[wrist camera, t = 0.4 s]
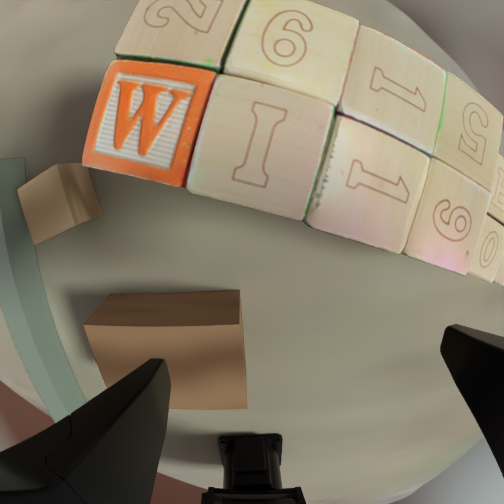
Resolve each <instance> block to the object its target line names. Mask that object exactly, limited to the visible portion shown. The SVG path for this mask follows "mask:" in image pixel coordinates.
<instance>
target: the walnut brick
mask: <svg viewBox="0 0 504 504" xmlns="http://www.w3.org/2000/svg"><path fill="white" fill-rule="evenodd" d="M83 326H84V329H85V332H86V335H87V338H88V341H89V343H90V346H91V349H92V352H93V355H94V357H95V360H96V362H97V365H98V368H99V370H100V373H101V375H102V377H103V380H104V382H105V385H106V387H107V388H109V387H110V386H112V385H113V384H115V383H116V382H118V381H119V380H120V379H122V378H123V377H125V376H126V375H128V374H129V373H130V372H132V371H133V370H135V369H136V368H138V367H139V366H140V365H142V364H143V363H145V362H146V361H148V360H149V359H151V358H163V359H164V360H165V361H166V363H167V367H168V371H169V375H170V379H171V393H170V402H169V409H201V410H216V409H247V385H246V362H245V350H244V337H243V325H242V312H241V299H240V290H229V291H210V292H188V293H160V294H119V295H110V296H109V297H108V298H107V299H106V300H105V301H104V302H103V303H102V304H101V306H100V307H99V308H98V309H97V310H96V311H95V312H94V313H93V314H92V316H91V317H90V318H89V319H88V320H87V321H86V322H85V324H84V325H83Z"/></svg>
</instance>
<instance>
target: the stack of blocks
mask: <svg viewBox="0 0 504 504" xmlns="http://www.w3.org/2000/svg"><path fill="white" fill-rule="evenodd" d="M114 53H115V54H116V56H117V59H114V60H113V61H112V62H111V64H110V66H109V67H108V70H107V72H106V74H105V76H104V79H103V82H102V85H101V88H100V91H99V94H98V97H97V101H96V104H95V107H94V110H93V114H92V117H91V121H90V125H89V129H88V133H87V137H86V141H85V145H84V150H83V156H82V165H83V166H87V167H91V168H95V169H100V170H105V171H110V172H114V173H119V174H124V175H128V176H132V177H137V178H141V179H145V180H149V181H153V182H157V183H161V184H165V185H169V186H173V187H185V188H186V190H187V191H188V192H190V193H193V194H197V195H201V196H205V197H209V198H213V199H217V200H221V201H225V202H229V203H233V204H237V205H241V206H245V207H249V208H252V209H256V210H260V211H264V212H267V213H271V214H275V215H279V216H283V217H286V218H290V219H294V220H302V221H303V222H304V223H305V224H306V225H307V226H309V227H311V228H313V229H315V230H319V231H323V232H326V233H329V234H332V235H336V236H340V237H344V238H347V239H350V240H353V241H356V242H359V243H363V244H366V245H369V246H372V247H376V248H379V249H382V250H385V251H388V252H392V253H397V254H398V253H402V254H404V255H406V256H408V257H410V258H413V259H416V260H419V261H423V262H426V263H429V264H432V265H435V266H437V267H440V268H443V269H446V270H449V271H452V272H455V273H458V274H460V275H463V276H466V274H467V273H468V274H470V275H473V276H475V277H477V278H480V279H482V280H485V281H487V282H489V283H492V282H495V283H497V284H500V285H502V286H504V158H503V157H502V156H501V155H500V154H499V147H500V141H501V134H502V127H503V115H502V114H501V113H500V112H499V111H498V110H497V109H496V108H495V107H494V106H492V105H491V104H490V103H489V102H488V101H487V100H486V99H484V98H483V97H482V96H481V95H479V94H478V93H477V92H476V91H474V90H473V89H472V88H471V87H470V86H468V85H467V84H466V83H464V82H463V81H462V80H460V79H459V78H458V77H456V76H455V75H453V74H452V73H451V72H448V71H445V70H444V69H442V68H441V67H440V66H438V65H437V64H435V63H434V62H433V61H431V60H430V59H428V58H427V57H425V56H423V55H422V54H420V53H418V52H417V51H415V50H413V49H412V48H410V47H408V46H406V45H404V44H402V43H400V42H398V41H397V40H395V39H393V38H391V37H390V36H388V35H386V34H384V33H382V32H380V31H377V30H375V29H373V28H371V27H368V26H364V25H361V24H360V23H359V21H358V20H356V19H354V18H352V17H350V16H347V15H345V14H343V13H340V12H338V11H335V10H332V9H330V8H327V7H324V6H321V5H319V4H316V3H313V2H310V1H307V0H139V2H138V3H137V5H136V7H135V9H134V11H133V13H132V15H131V17H130V19H129V21H128V23H127V24H126V26H125V28H124V30H123V32H122V34H121V36H120V38H119V41H118V43H117V45H116V47H115V50H114Z"/></svg>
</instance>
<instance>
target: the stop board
mask: <svg viewBox="0 0 504 504" xmlns="http://www.w3.org/2000/svg"><path fill="white" fill-rule="evenodd" d="M25 184H26V173H25V158H13V159H0V305H1V308H2V311H3V314H4V317H5V320H6V323H7V326H8V328H9V331H10V333H11V336H12V339H13V341H14V344H15V346H16V348H17V351H18V353H19V355H20V358H21V360H22V362H23V364H24V366H25V368H26V371H27V373H28V375H29V377H30V379H31V381H32V383H33V385H34V387H35V388H36V390H37V392H38V394H39V396H40V398H41V399H42V401H43V403H44V405H45V407H46V408H47V410H48V412H49V413H50V415H51V417H52V418H53V420H54V421H55V423H56V422H58V421H60V420H61V419H63V418H64V417H66V416H67V415H70V414H71V413H72V412H73V411H75V410H76V409H78V408H79V407H81V406H82V405H84V404H85V403H87V402H86V400H85V398H84V396H83V394H82V392H81V390H80V387H79V385H78V383H77V381H76V379H75V376H74V374H73V372H72V369H71V367H70V365H69V362H68V360H67V357H66V355H65V352H64V349H63V347H62V344H61V341H60V339H59V336H58V333H57V330H56V327H55V324H54V321H53V318H52V315H51V312H50V308H49V305H48V301H47V298H46V294H45V291H44V287H43V283H42V279H41V275H40V270H39V266H38V261H37V257H36V252H35V247H34V243H33V240H32V237H31V234H30V231H29V228H28V225H27V222H26V219H25V216H24V213H23V209H22V206H21V203H20V199H19V195H18V192H17V189H19V188H20V187H22V186H23V185H25Z"/></svg>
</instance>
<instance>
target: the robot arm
mask: <svg viewBox="0 0 504 504" xmlns="http://www.w3.org/2000/svg"><path fill="white" fill-rule="evenodd" d="M440 352H441V355H442V357H443V359H444V361H445V363H446V365H447V367H448V369H449V371H450V373H451V375H452V377H453V380H454V382H455V384H456V386H457V387H458V389H459V391H460V393H461V394H462V396H463V398H464V400H465V401H466V403H467V405H468V407H469V408H470V410H471V412H472V414H473V416H474V418H475V419H476V421H477V423H478V425H479V427H480V429H481V431H482V433H483V435H484V436H485V438H486V440H487V442H488V444H489V446H490V449H491V451H492V453H493V455H494V457H495V459H496V461H497V463H498V466H499V468H500V470H501V472H502V475H503V477H504V337H502V336H498V335H494V334H491V333H487V332H483V331H480V330H476V329H472V328H469V327H465V326H461V325H458V324H454V325H451V326H448V327H446V329H445V331H444V335H443V339H442V343H441V347H440ZM170 393H171V379H170V375H169V371H168V367H167V363H166V361H165V360H164V359H163V358H151V359H149V360H148V361H146V362H145V363H143V364H142V365H140V366H139V367H138V368H136V369H135V370H133V371H132V372H130V373H129V374H128V375H126V376H125V377H123V378H122V379H120V380H119V381H118V382H116V383H115V384H113V385H112V386H110V387H109V388H107V389H106V390H104V391H103V392H102V393H100V394H99V395H97V396H96V397H94V398H93V399H91V400H90V401H88V402H87V403H85V404H84V405H82V406H81V407H79V408H78V409H76V410H75V411H73V412H72V413H71V414H70V415H67V416H66V417H64V418H63V419H61V420H60V421H58V422H56V423H55V424H53V425H52V426H50V427H48V428H47V429H45V430H43V431H41V432H39V433H38V434H36V435H34V436H32V437H30V438H28V439H26V440H24V441H22V442H20V443H18V444H16V445H14V446H12V447H10V448H8V449H6V450H4V451H1V452H0V504H150V500H151V495H152V491H153V487H154V482H155V477H156V473H157V468H158V464H159V459H160V455H161V451H162V446H163V442H164V438H165V433H166V428H167V420H168V411H169V402H170ZM218 445H219V450H220V454H221V459H222V463H223V467H224V482H223V489H221V488H214V487H209V488H208V492H206V493H202V499H201V504H306V501H305V499H304V496H303V493H302V490H301V487H295V488H285V489H282V482H281V474H280V465H281V454H282V436H281V435H279V434H277V435H262V436H238V437H219V438H218Z"/></svg>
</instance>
